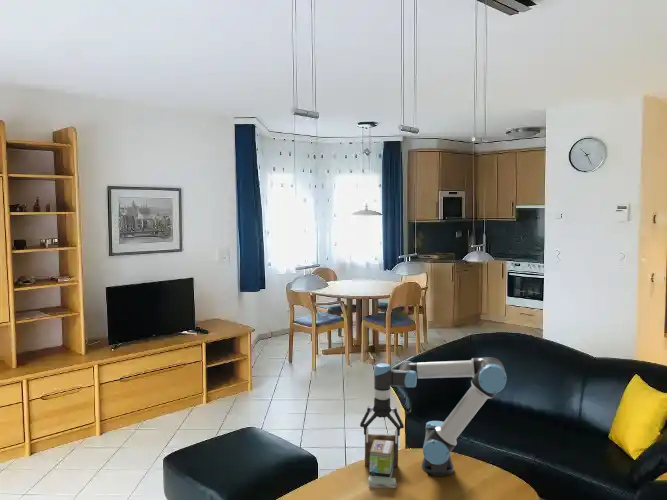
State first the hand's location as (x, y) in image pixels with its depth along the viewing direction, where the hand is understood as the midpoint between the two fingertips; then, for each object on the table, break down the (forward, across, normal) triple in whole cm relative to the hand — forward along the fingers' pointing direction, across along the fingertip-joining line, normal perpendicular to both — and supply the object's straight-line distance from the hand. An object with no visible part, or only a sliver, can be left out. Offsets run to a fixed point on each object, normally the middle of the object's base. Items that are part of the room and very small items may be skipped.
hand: (381, 441), depth 259 cm
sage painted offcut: (+14, 0, +11) cm, 18 cm away
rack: (+16, 0, -10) cm, 19 cm away
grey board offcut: (+16, -1, +11) cm, 19 cm away
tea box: (+17, 0, 0) cm, 17 cm away
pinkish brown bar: (+17, 0, +11) cm, 20 cm away
